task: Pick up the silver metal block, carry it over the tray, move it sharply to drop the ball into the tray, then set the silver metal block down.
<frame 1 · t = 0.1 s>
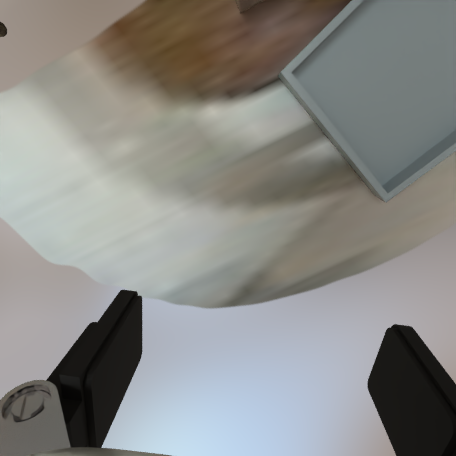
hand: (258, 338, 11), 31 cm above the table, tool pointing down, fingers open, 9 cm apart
tray: (414, 64, 34), on the table
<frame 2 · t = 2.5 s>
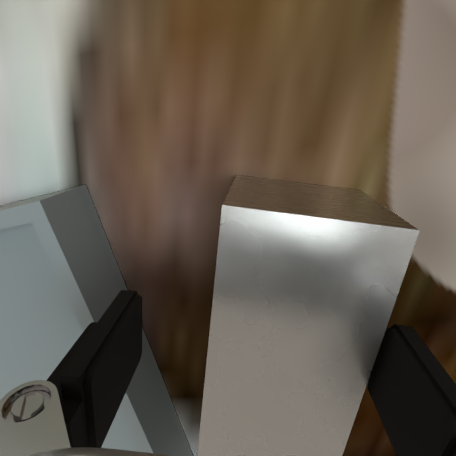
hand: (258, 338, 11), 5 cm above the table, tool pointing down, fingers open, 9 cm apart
tray: (26, 379, 21), on the table
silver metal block: (277, 286, 17), on the table, touching ball
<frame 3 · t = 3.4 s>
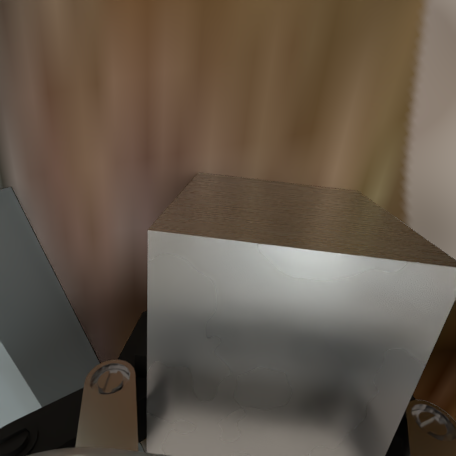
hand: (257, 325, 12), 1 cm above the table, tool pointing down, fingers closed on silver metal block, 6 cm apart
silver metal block: (256, 313, 13), on the table, touching ball, gripper
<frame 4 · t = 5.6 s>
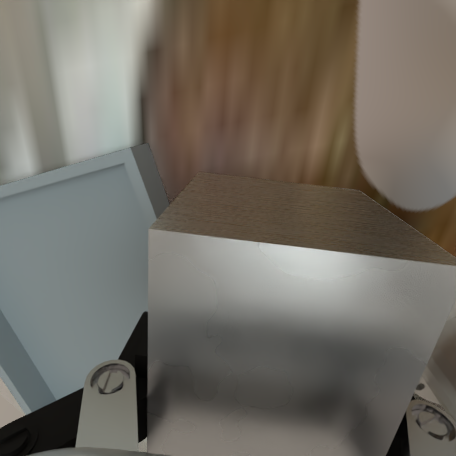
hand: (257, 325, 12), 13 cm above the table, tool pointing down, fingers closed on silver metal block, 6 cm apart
tray: (95, 298, 28), on the table
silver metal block: (256, 313, 13), point 12 cm above the table, touching ball, gripper
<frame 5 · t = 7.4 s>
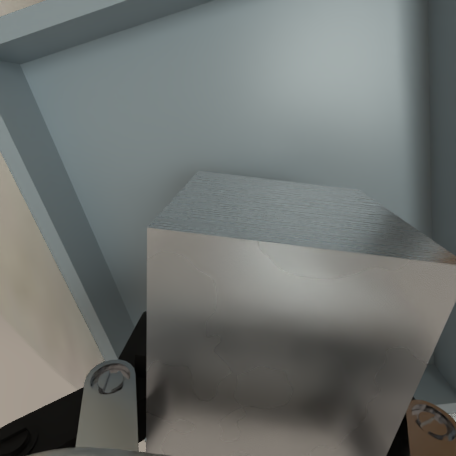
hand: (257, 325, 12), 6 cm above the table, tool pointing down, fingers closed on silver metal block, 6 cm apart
tray: (256, 230, 17), on the table
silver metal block: (256, 312, 13), point 5 cm above the table, touching ball, gripper
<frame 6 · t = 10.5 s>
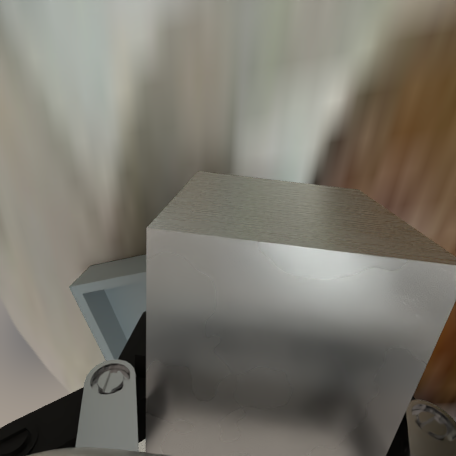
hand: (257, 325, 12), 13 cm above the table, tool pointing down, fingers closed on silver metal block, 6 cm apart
tray: (229, 351, 30), on the table
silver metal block: (256, 313, 13), point 12 cm above the table, touching gripper
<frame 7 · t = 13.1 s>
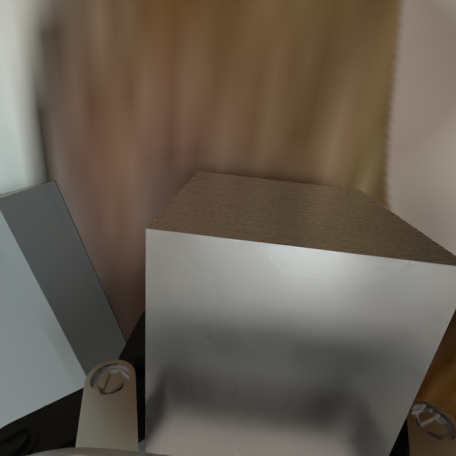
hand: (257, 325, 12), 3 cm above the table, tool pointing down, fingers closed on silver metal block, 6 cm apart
tray: (0, 391, 20), on the table
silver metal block: (256, 313, 13), point 2 cm above the table, touching gripper
when the fingers open (2 cm above the table, at t = 13.8 s): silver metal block drops 1 cm, on the table.
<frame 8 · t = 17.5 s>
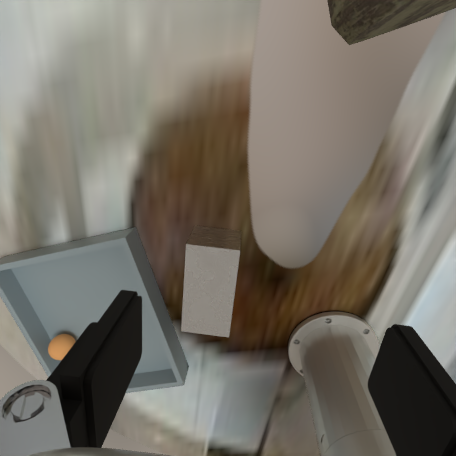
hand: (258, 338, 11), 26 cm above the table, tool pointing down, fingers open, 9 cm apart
tray: (101, 314, 44), on the table
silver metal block: (214, 268, 41), on the table
ball: (62, 346, 44), point 3 cm above the table, tilted 19°, touching tray
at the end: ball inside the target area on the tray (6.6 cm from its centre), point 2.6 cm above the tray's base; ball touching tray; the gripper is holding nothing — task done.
